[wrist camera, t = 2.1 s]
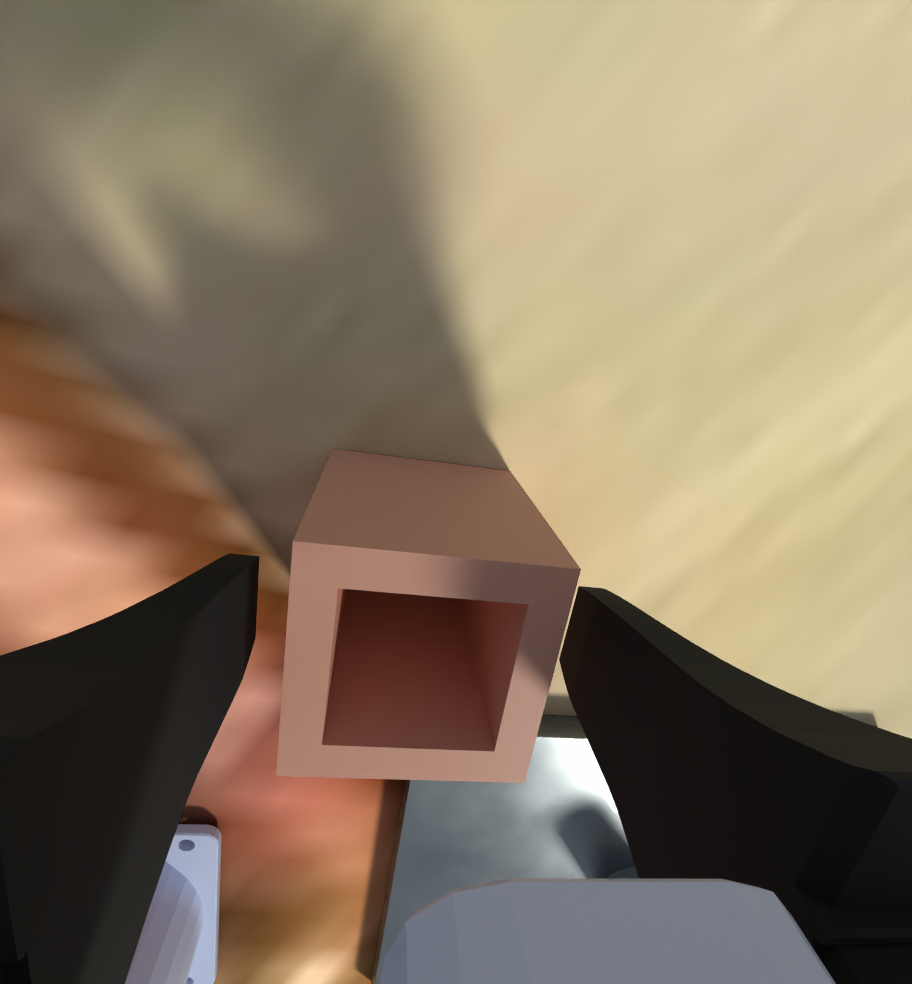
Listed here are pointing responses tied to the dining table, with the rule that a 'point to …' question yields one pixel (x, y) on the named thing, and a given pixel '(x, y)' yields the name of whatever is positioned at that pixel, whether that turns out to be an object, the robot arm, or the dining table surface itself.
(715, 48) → the dining table surface
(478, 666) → the collar
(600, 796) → the stand
